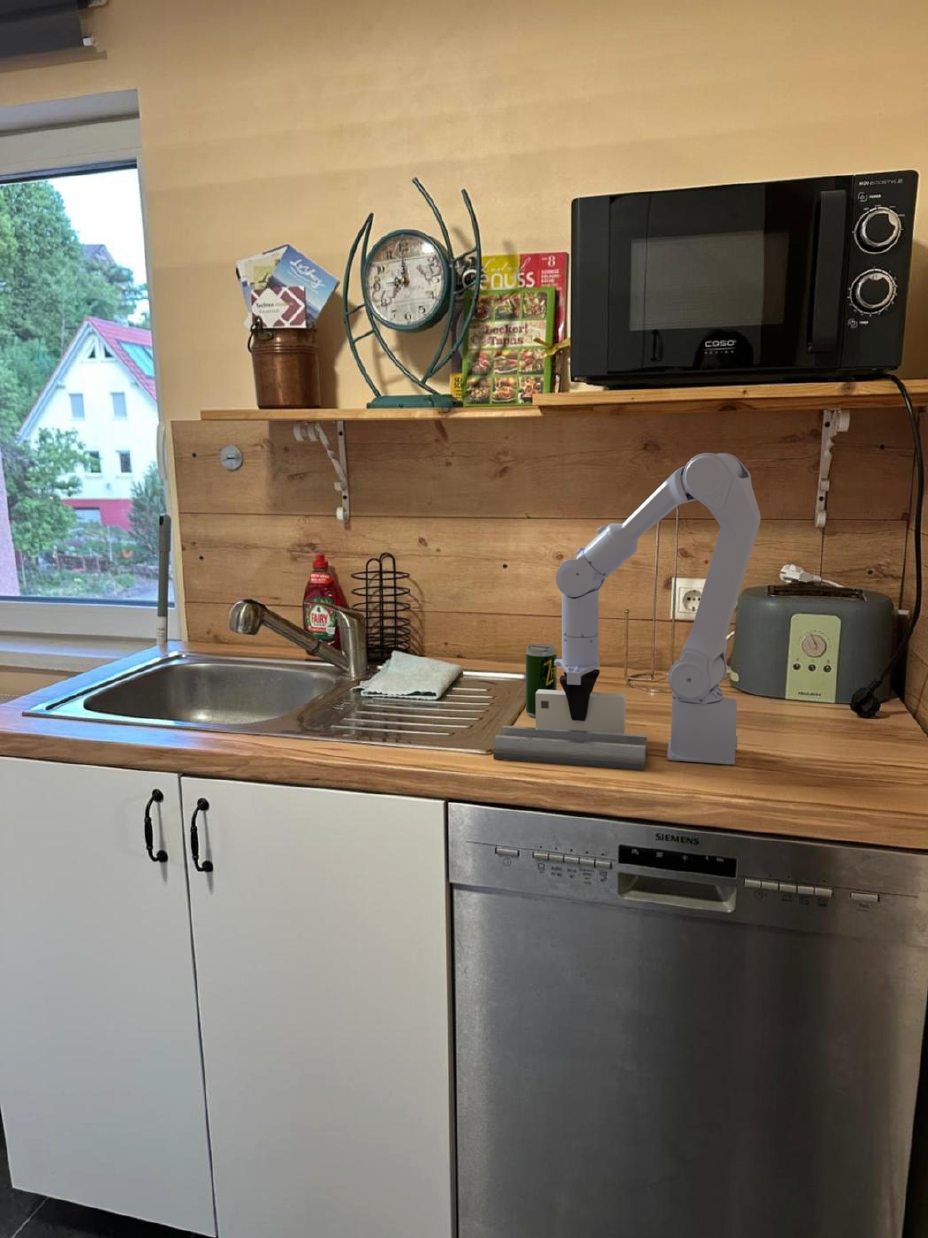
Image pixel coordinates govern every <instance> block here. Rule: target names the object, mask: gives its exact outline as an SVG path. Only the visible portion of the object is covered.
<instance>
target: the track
mask: <svg viewBox="0 0 928 1238" xmlns="http://www.w3.org/2000/svg"><path fill="white" fill-rule="evenodd" d="M492 754H493V755H492V758H497V759H496V760H503V759H509V760H508V761H516V760H518V762H528V761H530V763H533V762H534V763H541V762H542V763H543V764H544V763H545V764H554V763H555V764H556V765H569V766H580V765H583V767H591V768H592V767H595V768H607V769H619V770H620V769H621V770H632V771H645V767H646V762H647V761H646V760H647V757H648V756H647V754H648V734H639V733H637V734H636V733H625V732H624V733H610V732H595V731H580V730H565V729H550V728H536V726H535V727H534V726H533V727H532V726H517V725H516V726H515V725H503V724H502V727H501V735H500V734H499V735H498V734H496V735H495V736H494V750H493V752H492ZM542 763H541V764H542Z"/></svg>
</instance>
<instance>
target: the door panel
mask: <svg viewBox="0 0 928 1238" xmlns="http://www.w3.org/2000/svg"><path fill="white" fill-rule="evenodd" d="M535 728H550V729H565V730H580V731H595V732H610V733H625V732H626V693H617V692H598V691H596V692H595V691H592V692H591V694H590V698H589V704H588V710H587V715H586V719H585V721H576V720H572V718H571V715H570V710H569V705H568V701H567V697H566V694H565V692H564V690H558V689H557V690H541V689H538V691H537V692H536V718H535Z"/></svg>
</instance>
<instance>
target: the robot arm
mask: <svg viewBox="0 0 928 1238" xmlns="http://www.w3.org/2000/svg"><path fill="white" fill-rule="evenodd" d="M693 501H698V502H699V503H701V504H702V505H704V507H706V508H707V509H708V510H709V511H710V513H711V515H712V516H713V518H714V519H715V520H716V522H717V523H718V525H719V532H718V535H717V539H716V542H715V546H714V550H713V552H712V555H711V558H710V559H711V560H710V564H709V567H708V571H707V573H706V576H705V581H704V583H703V588H702V591H701V595H700V599H699V602H698V606H697V609H696V613H695V617H694V621H693V624H692V627H691V631H690V633H689V635H688V637H687V639H686V640H685V642H684V645H683V646H682V649H681V653H680V655H679V657H678V658H677V660H676V661H675V662H674V663H673V664H672V665H671V666H670V668H669V670H668V674H667V681H668V685H669V687H670V690H671V692H672V693H671V717H670V718H671V720H670V721H671V722H670V723H671V725H670V726H671V727H670V740H668V744H667V753H666V754H667V755H666V760H667V761H677V762H678V761H679V762H681V761H682V762H690V763H691V762H692V763H704V764H717V765H720V764H721V765H736V749H738V736H737V725H738V724H737V722H738V721H737V719H738V718H737V716H738V715H737V714H738V713H737V712H738V706H737V705H738V702H737V699H736V698H733V697H732V698H731V697H726V696H724V692H723V690H722V687H721V686H720V684H721V682H722V681H724V679H725V677H726V675H727V672H728V664H727V660H726V652H727V649H728V641H727V639H728V638H727V635H728V633H729V630H730V626H731V623H732V619H733V616H734V612H735V609H736V606H737V602H738V598H739V596H740V592H741V589H742V585H743V581H744V578H745V575H746V572H747V568H748V565H749V561H750V558H751V555H752V551H753V547H754V544H755V542H756V537H757V535H758V534H757V533H758V531H759V528H760V524H761V518H762V517H761V516H762V515H761V512H760V509H759V505H758V503H757V499H756V496H755V491H754V489H753V486H752V477H751V473H750V471H749V469H747V468H746V467H745V465H744V464H743V463H742V461H740V459H739V458H738V457H736V455H733V454H731V453H727V452H719V453H712V452H704V453H703V452H702V453H700V454H697V455H695V456H693V457H692V458H691V459H690V460H689V461H688V462H687V463H686V464H685V466H683V465H682V466H681V467H680V468H678V469H677V470H675V471H674V472H673V473H672V474H671V475H670V476H669V477H668V478H667V479H666V480H665V481H663V483H662V484H661V485H659V487H658V488H657V489H655V491H654V492H653V493H652V494H650V496H649V497H648V498H647V499H646V500H645V501H644V502H643V503H642V504H641V505H639V507H638V508H637V509H635V510H634V511H633V513H631V514H630V515H629V517H628V518H626V520H625V521H624V522H623V523H617V522H612V523H610V524H608V525H601V526H600V527H599V528H598V529H596V533H597V536H595V537H594V538H593V539H592V540H591V541H590V542H589V543H588V544H587V545H586V546H584V547H579V548H578V549H577V550H576V551H575V554H576V558H569V559H566V560H563V561H562V563H561V565H560V566H559V567H558V568H557V571H556V574H555V583H556V585H557V588H558V589H559V591H560V592H561V658H557V659H556V660H555V661H554V665H555V666H557V667H561V668H562V669H563V670H564V672H563V675H562V674H561V675H560V676H559V684H560V686H561V687H562V689H563V691H564V692H565V694H566V697H567V701H568V705H569V710H570V715H571V718H572V720H576V721H585V719H586V715H587V710H588V704H589V698H590V694H591V692H594V691H593V690H594V687H595V684H596V682H597V679H598V678H599V676H600V673H601V670H600V669H599V667H600V660H599V626H600V625H599V624H600V623H599V621H600V620H599V618H600V617H599V615H600V613H599V610H600V609H599V608H600V607H599V606H600V605H599V592H600V591H599V590H600V589H601V588H602V587H603V585H604V583H605V580H606V579H607V578H608V577H610V576H611V575H612V574H613V573H614V572H615V571H616V570H618V568H620V567H621V566H622V565H623V564H624V563H626V561H627V560H629V559H630V558H631V557H632V556H633V555H635V553H636V552H637V551H638V542H639V538H641V537H642V536H643V535H644V534H645V533H647V532H648V531H649V530H650V529H651V528H653V527H654V526H655V525H656V524H658V523H659V522H660V521H661V520H662V519H663V518H665V517H666V516H667V515H668V514H670V513H671V512H672V511H673V510H674V509H676V508H677V507H678V506H680V505H682V504H687V503H690V502H693Z"/></svg>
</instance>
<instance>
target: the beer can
mask: <svg viewBox="0 0 928 1238" xmlns="http://www.w3.org/2000/svg"><path fill="white" fill-rule="evenodd" d="M557 657H558V652H557V651H556V646H555V645H553V644H548V643H547V644H546V643H535V644H534V643H533V644H530V645H527V646H526V650H525V711H526V714H527V715H528V716H529V717H530V718H534V719H536V692H537V691H538V689H541V690H558V689H557V688H558V687H557V686H558V685H557V684H558V682H557V681H558V680H557V679H558V677H557V675H558V673H557V672H558V671H557V670H558V666H555V665H554V661H555V660H556V659H558V658H557Z"/></svg>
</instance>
